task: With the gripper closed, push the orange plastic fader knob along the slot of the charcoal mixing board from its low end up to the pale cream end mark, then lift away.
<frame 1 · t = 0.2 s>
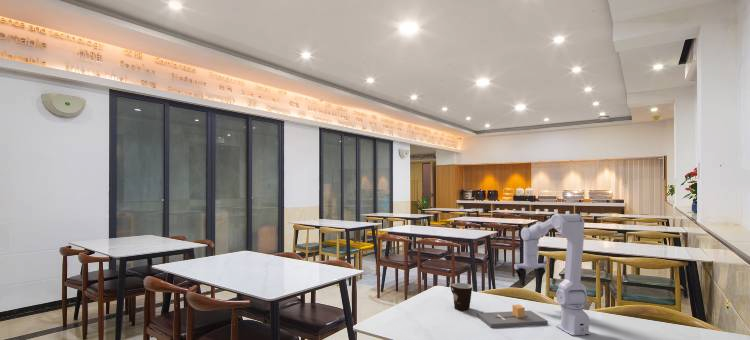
hand: (530, 284, 174), 10 cm above the table, tool pointing down, fingers open, 7 cm apart
fader knob: (518, 311, 157), point 4 cm above the table, slide at -3.0 cm
mixing board: (511, 320, 157), on the table
coffee mug: (461, 307, 172), on the table
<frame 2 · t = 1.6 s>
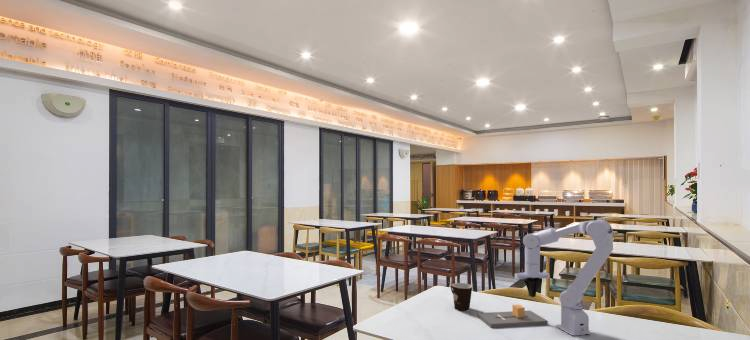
hand: (532, 296, 158), 9 cm above the table, tool pointing down, fingers closed
nothing on the table moved.
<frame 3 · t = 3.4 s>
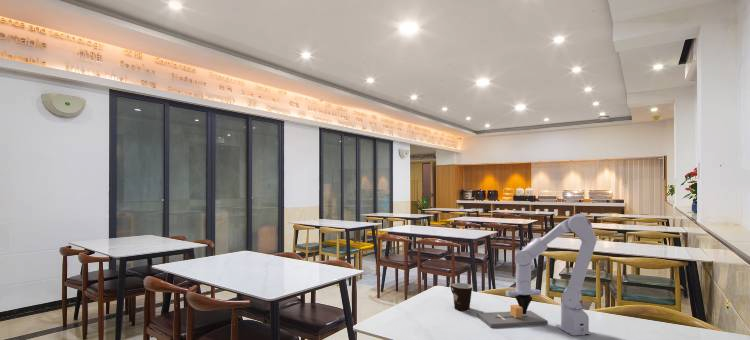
hand: (523, 313, 158), 3 cm above the table, tool pointing down, fingers closed
fader knob: (516, 311, 157), point 4 cm above the table, slide at -2.1 cm, touching gripper
everything else where it was.
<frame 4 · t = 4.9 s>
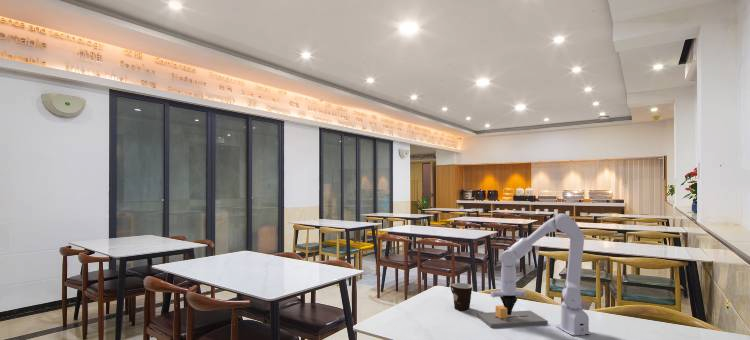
hand: (508, 314, 156), 3 cm above the table, tool pointing down, fingers closed
fader knob: (501, 311, 156), point 4 cm above the table, slide at 4.5 cm, touching gripper
everything else where it was.
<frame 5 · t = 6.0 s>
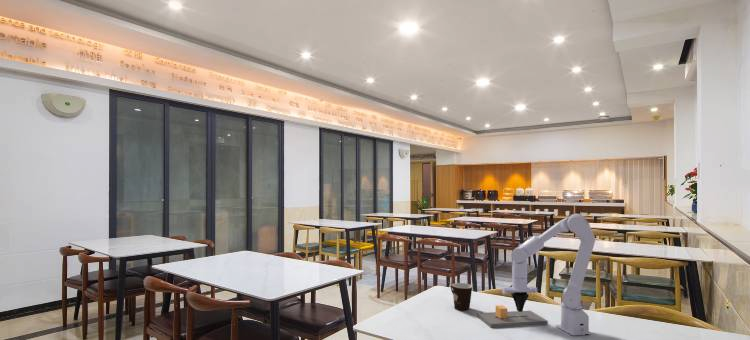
hand: (519, 310, 157), 4 cm above the table, tool pointing down, fingers closed
fader knob: (501, 311, 156), point 4 cm above the table, slide at 4.5 cm
everything else where it was.
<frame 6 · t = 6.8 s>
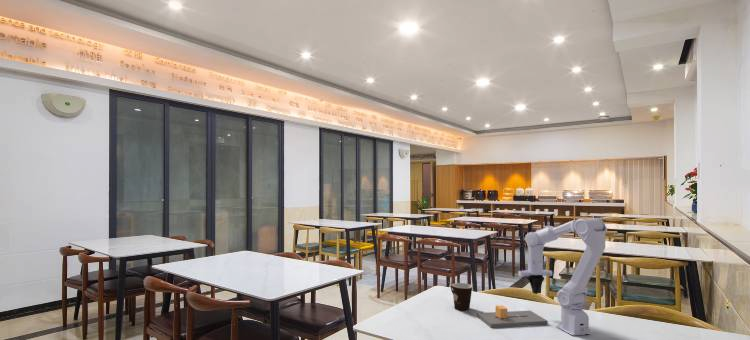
hand: (535, 293, 163), 9 cm above the table, tool pointing down, fingers closed
nothing on the table moved.
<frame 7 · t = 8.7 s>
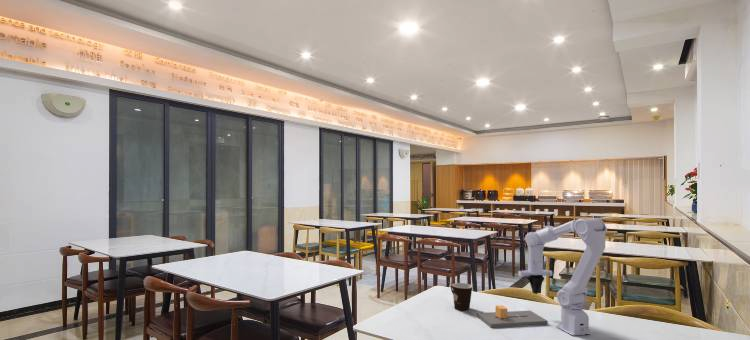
hand: (535, 293, 163), 9 cm above the table, tool pointing down, fingers closed
nothing on the table moved.
at the end: fader knob slide at 4.5 cm; coffee mug moved 0.2 cm from its start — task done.
